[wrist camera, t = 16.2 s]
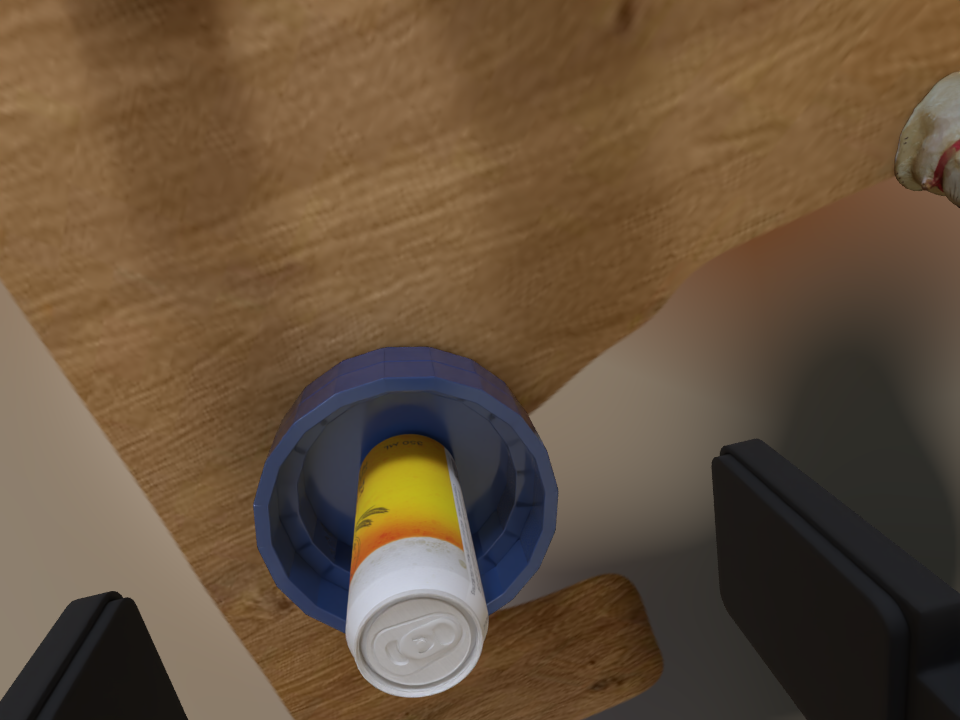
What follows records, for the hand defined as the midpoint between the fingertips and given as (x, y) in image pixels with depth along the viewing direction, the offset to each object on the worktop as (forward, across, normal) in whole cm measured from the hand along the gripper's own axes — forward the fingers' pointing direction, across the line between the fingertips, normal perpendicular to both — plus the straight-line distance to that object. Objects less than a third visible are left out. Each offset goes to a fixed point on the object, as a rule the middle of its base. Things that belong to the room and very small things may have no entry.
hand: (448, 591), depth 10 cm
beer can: (+28, +2, +12) cm, 31 cm away
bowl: (+28, +2, +12) cm, 31 cm away
